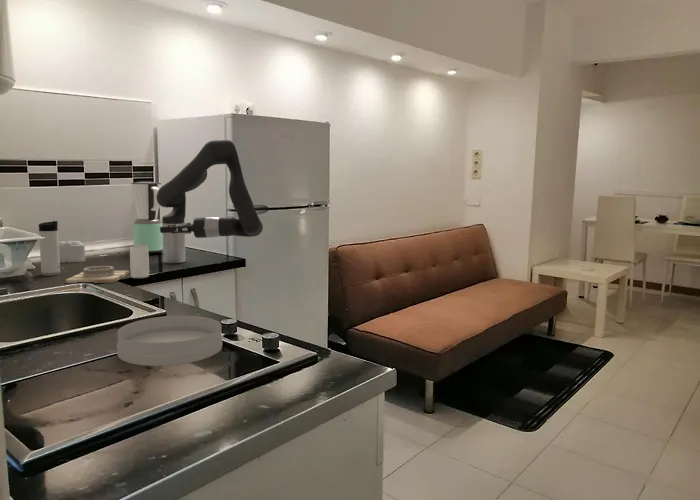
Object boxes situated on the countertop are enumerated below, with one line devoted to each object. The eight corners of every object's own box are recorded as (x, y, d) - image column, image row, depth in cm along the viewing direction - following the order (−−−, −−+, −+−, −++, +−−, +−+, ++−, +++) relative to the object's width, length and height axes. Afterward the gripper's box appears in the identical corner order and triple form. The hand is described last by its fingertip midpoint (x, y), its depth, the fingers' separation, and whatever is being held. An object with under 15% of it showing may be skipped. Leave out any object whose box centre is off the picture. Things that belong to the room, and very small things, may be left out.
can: (142, 279, 198) (141, 246, 196) (127, 278, 199) (125, 245, 198) (152, 275, 204) (151, 244, 203) (137, 275, 205) (136, 243, 204)
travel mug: (64, 273, 206) (62, 221, 203) (49, 276, 200) (45, 222, 197) (53, 272, 208) (50, 220, 206) (37, 274, 202) (34, 221, 200)
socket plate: (85, 273, 206) (85, 264, 206) (129, 273, 208) (128, 264, 207) (66, 282, 188) (65, 272, 188) (113, 282, 190) (113, 272, 190)
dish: (239, 339, 127) (238, 319, 127) (191, 371, 106) (191, 347, 105) (155, 332, 132) (154, 312, 132) (93, 361, 111) (92, 337, 110)
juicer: (127, 253, 262) (124, 180, 257) (152, 250, 271) (150, 180, 267) (146, 257, 249) (143, 181, 244) (172, 254, 259) (170, 181, 254)
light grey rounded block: (85, 261, 235) (84, 241, 234) (51, 263, 229) (50, 243, 228) (85, 258, 244) (84, 239, 243) (52, 259, 238) (51, 240, 237)
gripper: (211, 216, 207) (169, 218, 207) (202, 218, 193) (157, 220, 193) (212, 235, 208) (170, 237, 208) (204, 239, 194) (158, 240, 193)
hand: (164, 229), depth 200 cm, fingers open, 8 cm apart
